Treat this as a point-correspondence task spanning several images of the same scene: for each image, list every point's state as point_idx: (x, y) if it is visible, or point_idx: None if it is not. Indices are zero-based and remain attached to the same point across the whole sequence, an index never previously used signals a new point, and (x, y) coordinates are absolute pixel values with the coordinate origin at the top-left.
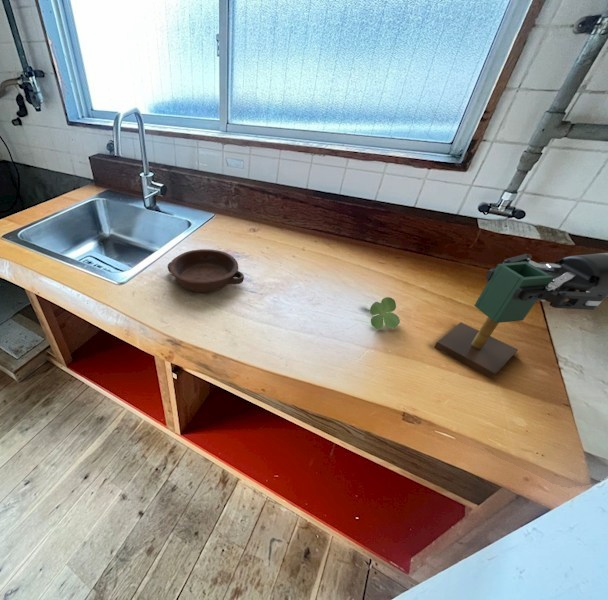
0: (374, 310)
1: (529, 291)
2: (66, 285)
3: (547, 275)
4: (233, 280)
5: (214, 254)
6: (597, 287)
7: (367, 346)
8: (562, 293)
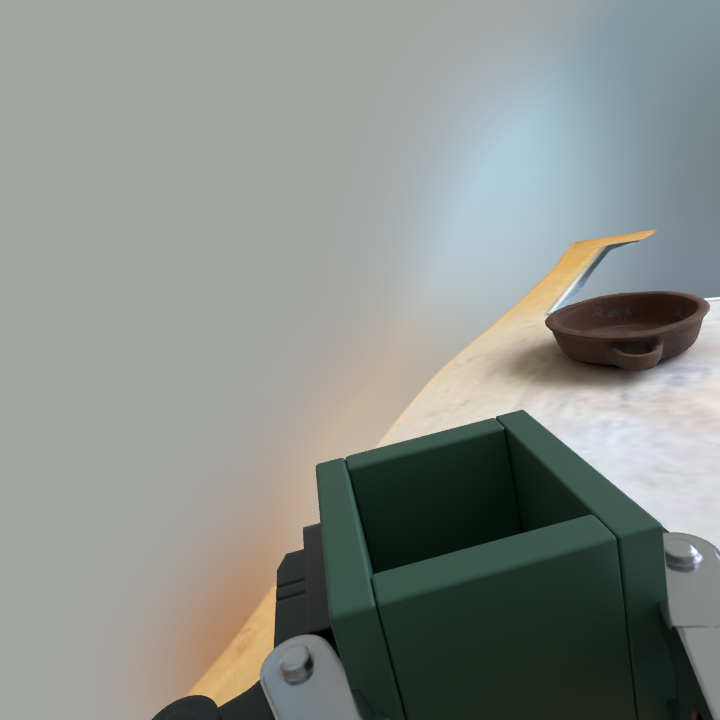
0: None
1: (300, 569)
2: (521, 298)
3: (362, 581)
4: (612, 353)
5: (695, 309)
6: None
7: None
8: (182, 715)
